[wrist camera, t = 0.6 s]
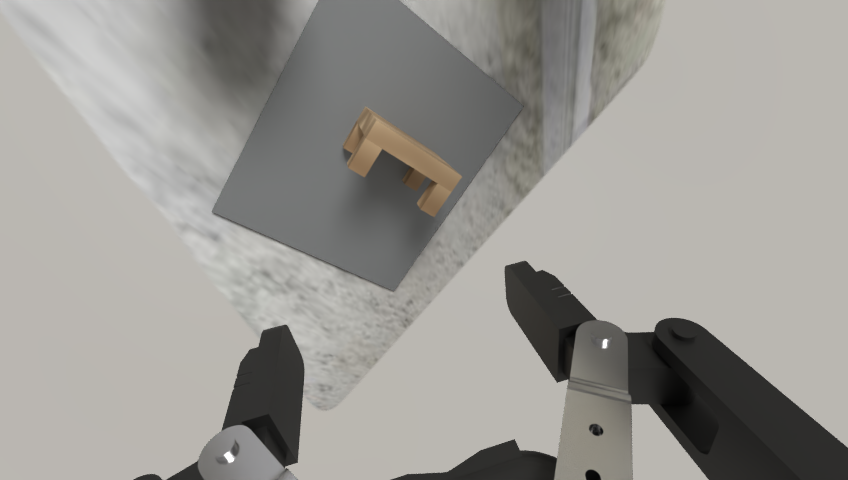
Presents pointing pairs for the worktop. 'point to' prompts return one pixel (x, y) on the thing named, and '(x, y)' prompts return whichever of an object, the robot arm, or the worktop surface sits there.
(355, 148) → the wooden bench
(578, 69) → the worktop surface
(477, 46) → the worktop surface
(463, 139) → the mat
